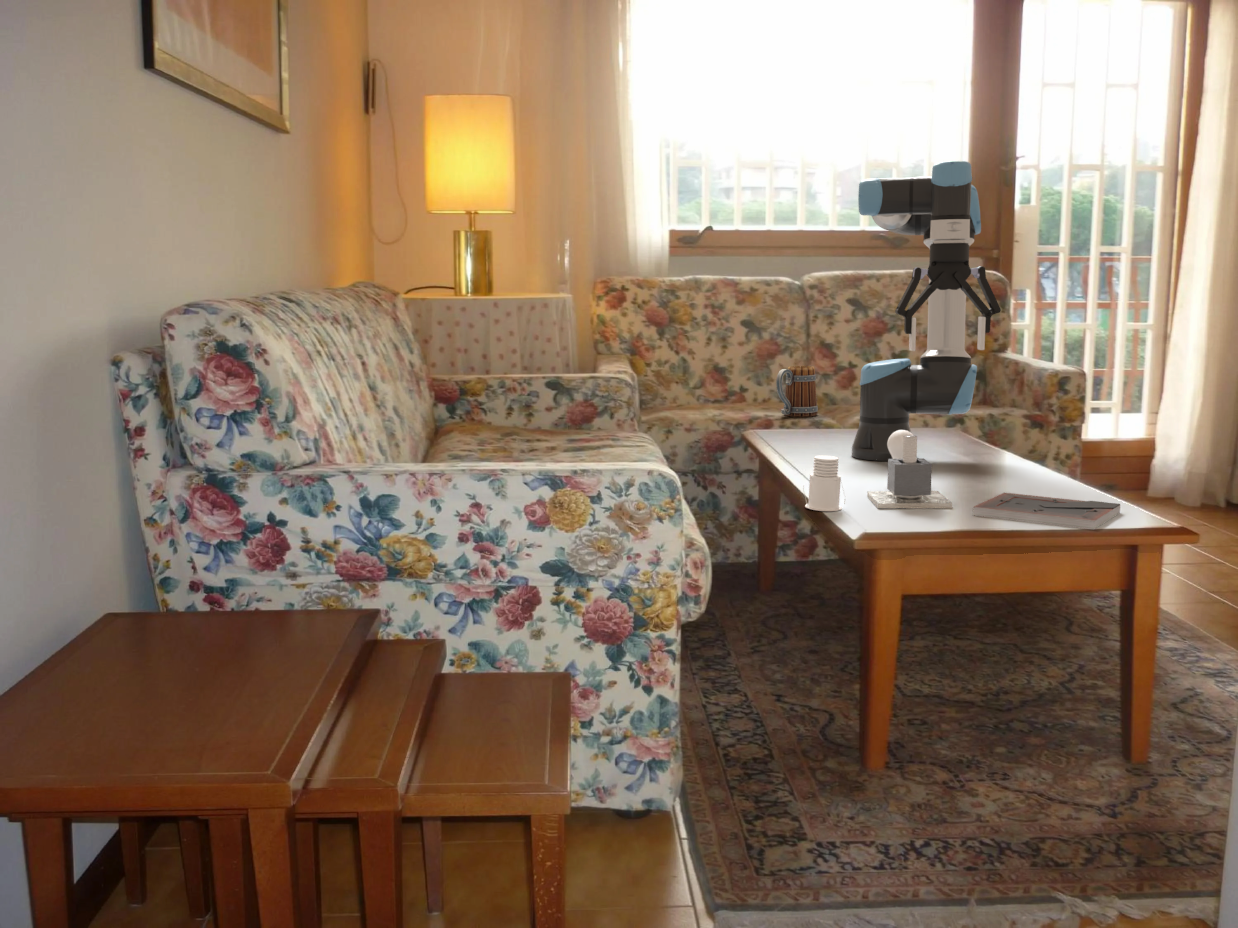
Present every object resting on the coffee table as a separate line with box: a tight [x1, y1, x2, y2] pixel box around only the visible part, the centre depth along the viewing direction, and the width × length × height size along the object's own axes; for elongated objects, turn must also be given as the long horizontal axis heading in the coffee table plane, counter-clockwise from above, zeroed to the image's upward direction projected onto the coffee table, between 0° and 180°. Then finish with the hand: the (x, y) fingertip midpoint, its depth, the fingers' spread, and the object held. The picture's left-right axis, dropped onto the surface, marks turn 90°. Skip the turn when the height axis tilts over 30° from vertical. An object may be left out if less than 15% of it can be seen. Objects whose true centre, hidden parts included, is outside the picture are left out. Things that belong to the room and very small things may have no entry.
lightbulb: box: [887, 430, 915, 459], centre depth 249 cm, size 6×6×11 cm
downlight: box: [802, 455, 846, 512], centre depth 222 cm, size 8×7×10 cm
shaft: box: [866, 434, 953, 509], centre depth 226 cm, size 12×14×13 cm
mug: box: [775, 365, 819, 418], centre depth 358 cm, size 16×11×15 cm
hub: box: [886, 458, 933, 495], centre depth 226 cm, size 7×7×6 cm
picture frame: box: [972, 492, 1121, 530], centre depth 214 cm, size 16×2×22 cm
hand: (946, 350), depth 233 cm, fingers open, 13 cm apart
